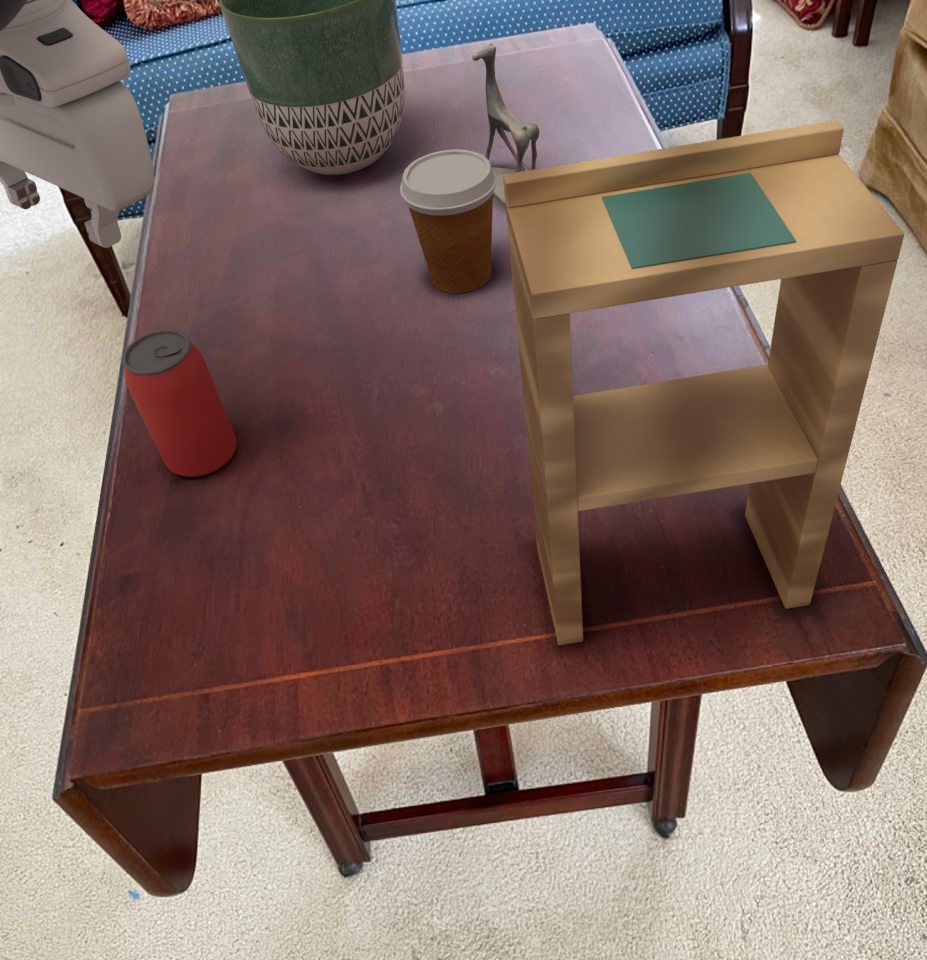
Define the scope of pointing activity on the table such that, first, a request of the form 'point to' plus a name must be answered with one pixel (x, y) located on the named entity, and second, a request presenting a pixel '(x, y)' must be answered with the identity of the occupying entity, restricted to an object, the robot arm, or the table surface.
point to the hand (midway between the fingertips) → (65, 222)
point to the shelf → (712, 397)
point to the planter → (322, 77)
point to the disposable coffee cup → (452, 216)
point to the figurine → (505, 123)
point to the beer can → (179, 403)
